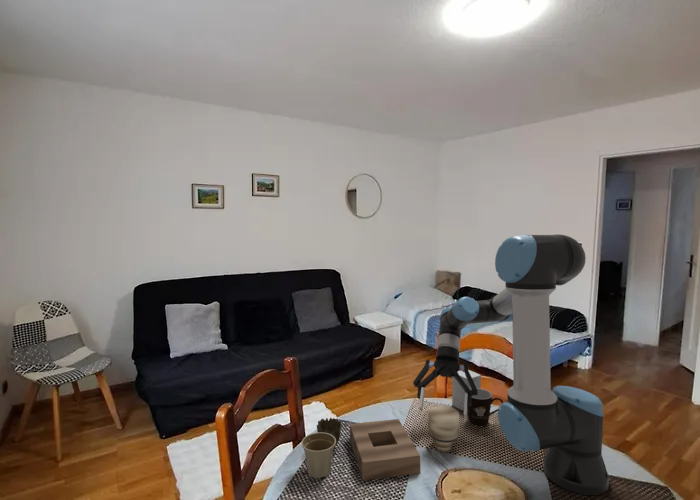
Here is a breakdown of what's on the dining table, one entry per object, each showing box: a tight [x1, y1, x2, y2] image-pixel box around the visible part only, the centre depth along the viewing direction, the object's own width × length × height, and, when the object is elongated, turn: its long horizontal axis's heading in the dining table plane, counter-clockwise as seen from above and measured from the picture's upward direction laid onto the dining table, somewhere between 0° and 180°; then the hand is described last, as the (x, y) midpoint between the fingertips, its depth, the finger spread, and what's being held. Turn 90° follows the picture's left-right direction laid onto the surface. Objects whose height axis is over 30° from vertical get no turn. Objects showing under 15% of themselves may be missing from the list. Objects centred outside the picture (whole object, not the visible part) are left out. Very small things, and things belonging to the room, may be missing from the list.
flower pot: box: [301, 432, 337, 479], centre depth 107 cm, size 9×9×9 cm
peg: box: [427, 405, 460, 453], centre depth 117 cm, size 9×9×11 cm
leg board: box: [349, 418, 421, 481], centre depth 114 cm, size 20×16×5 cm
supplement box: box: [451, 369, 482, 413], centre depth 143 cm, size 7×7×13 cm
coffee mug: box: [467, 388, 504, 427], centre depth 131 cm, size 12×9×10 cm
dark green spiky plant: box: [316, 417, 342, 451], centre depth 117 cm, size 8×7×8 cm
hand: (442, 412), depth 121 cm, fingers open, 13 cm apart
